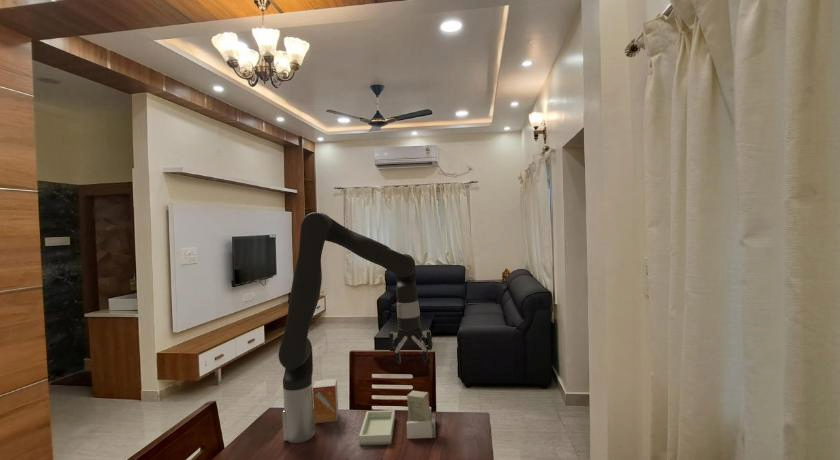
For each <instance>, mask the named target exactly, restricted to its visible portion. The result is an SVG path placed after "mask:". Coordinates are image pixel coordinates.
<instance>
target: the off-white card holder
mask: <svg viewBox="0 0 840 460" xmlns="http://www.w3.org/2000/svg"><path fill="white" fill-rule="evenodd" d="M429 409H430V421H409V415H408V414H407V419H408V420H407V421H406V438H407V440H408V439H409V440H410V439H428V438H429V439H432V438H436V437H437V435H436V433H437V432H436V417H435V416H436V414H435V413H432V407H431V406H429Z"/></svg>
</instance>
